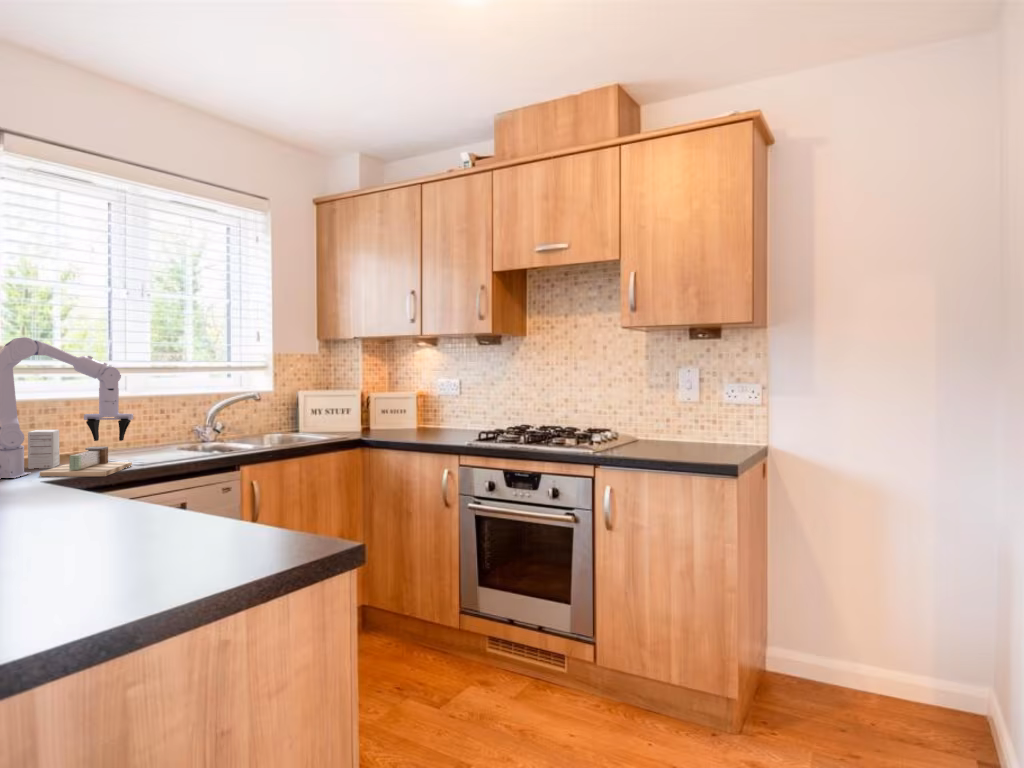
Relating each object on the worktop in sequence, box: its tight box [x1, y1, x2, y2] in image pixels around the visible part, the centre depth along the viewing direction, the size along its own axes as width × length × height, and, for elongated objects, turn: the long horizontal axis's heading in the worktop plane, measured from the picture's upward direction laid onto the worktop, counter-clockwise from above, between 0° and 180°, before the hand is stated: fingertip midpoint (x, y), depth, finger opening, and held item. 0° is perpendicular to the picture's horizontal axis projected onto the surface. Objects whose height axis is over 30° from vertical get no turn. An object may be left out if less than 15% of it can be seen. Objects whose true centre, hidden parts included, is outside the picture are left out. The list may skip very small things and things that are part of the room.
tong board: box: [39, 446, 133, 477], centre depth 209 cm, size 20×19×7 cm
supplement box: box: [27, 429, 60, 470], centre depth 216 cm, size 7×7×13 cm
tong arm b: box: [68, 450, 95, 470], centre depth 208 cm, size 14×1×5 cm, turn 10°
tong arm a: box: [74, 450, 100, 470], centre depth 208 cm, size 14×1×5 cm, turn 9°
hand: (108, 440), depth 216 cm, fingers open, 7 cm apart
